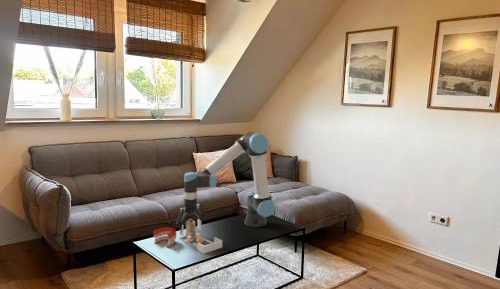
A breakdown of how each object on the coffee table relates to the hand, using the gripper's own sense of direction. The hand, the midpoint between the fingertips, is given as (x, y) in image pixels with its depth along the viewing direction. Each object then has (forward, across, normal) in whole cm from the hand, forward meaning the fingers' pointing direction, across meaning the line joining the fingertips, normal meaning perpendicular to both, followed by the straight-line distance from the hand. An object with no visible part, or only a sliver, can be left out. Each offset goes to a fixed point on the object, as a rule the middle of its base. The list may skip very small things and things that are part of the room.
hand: (190, 232), depth 224 cm
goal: (+4, 0, +19) cm, 19 cm away
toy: (+4, +14, -4) cm, 15 cm away
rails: (+4, 0, +6) cm, 8 cm away
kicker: (+4, 0, 0) cm, 4 cm away
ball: (+2, 0, +10) cm, 10 cm away
